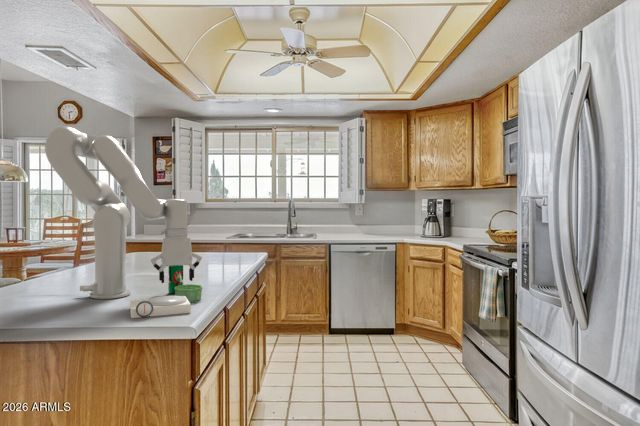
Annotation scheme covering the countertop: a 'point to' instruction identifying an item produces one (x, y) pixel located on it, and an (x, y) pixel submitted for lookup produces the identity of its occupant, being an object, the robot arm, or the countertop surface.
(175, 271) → the soda can
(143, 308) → the scale
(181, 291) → the ramekin
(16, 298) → the countertop surface
